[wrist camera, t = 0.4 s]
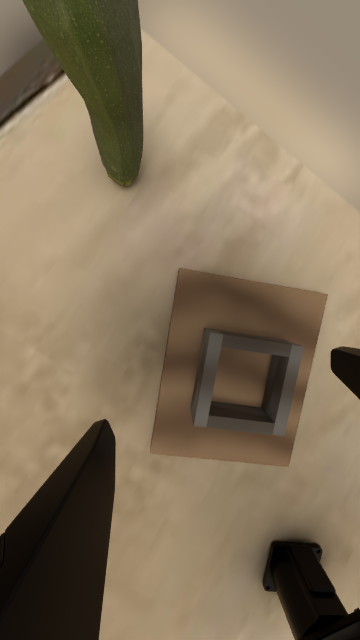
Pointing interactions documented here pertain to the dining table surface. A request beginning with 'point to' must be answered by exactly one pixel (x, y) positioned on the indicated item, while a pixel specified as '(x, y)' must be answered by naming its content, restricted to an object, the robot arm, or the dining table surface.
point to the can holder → (235, 369)
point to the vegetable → (101, 71)
